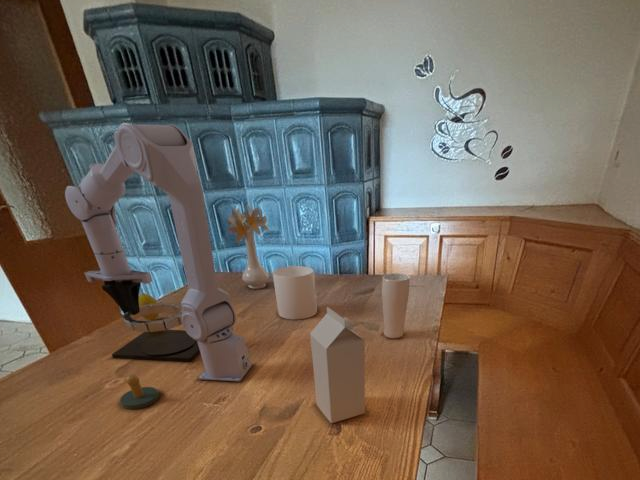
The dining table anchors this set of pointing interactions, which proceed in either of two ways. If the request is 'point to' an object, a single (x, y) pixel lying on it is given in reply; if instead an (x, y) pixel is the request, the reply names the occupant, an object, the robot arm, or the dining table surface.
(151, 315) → the lemon
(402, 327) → the drinking glass
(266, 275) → the flower vase
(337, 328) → the milk carton
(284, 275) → the cup
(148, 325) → the tan flat ring
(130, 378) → the stand
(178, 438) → the dining table surface
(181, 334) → the hob plate
